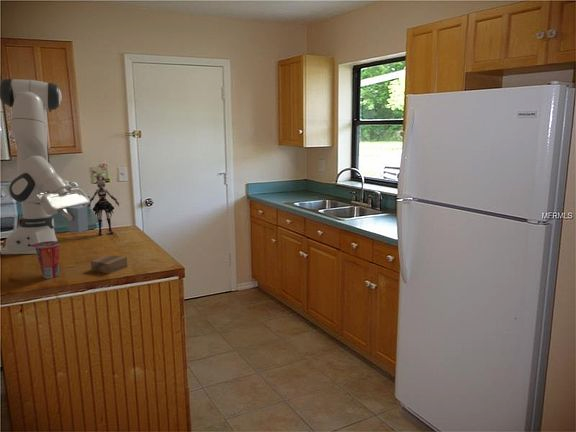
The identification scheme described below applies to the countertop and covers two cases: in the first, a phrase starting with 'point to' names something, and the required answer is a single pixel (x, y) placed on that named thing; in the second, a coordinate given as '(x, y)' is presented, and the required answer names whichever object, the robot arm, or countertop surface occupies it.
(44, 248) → the cup
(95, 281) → the countertop surface
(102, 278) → the countertop surface
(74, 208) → the blue block
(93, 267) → the walnut block
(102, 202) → the figurine
